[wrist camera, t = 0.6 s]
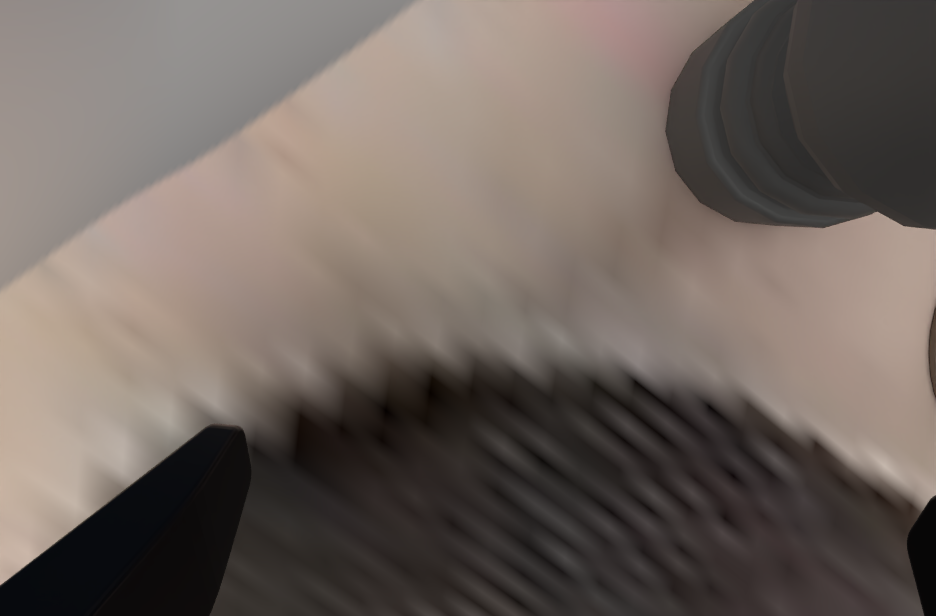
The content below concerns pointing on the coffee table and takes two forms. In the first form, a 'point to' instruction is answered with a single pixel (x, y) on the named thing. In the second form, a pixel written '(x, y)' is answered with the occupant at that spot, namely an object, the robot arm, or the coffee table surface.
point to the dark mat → (933, 353)
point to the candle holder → (812, 113)
